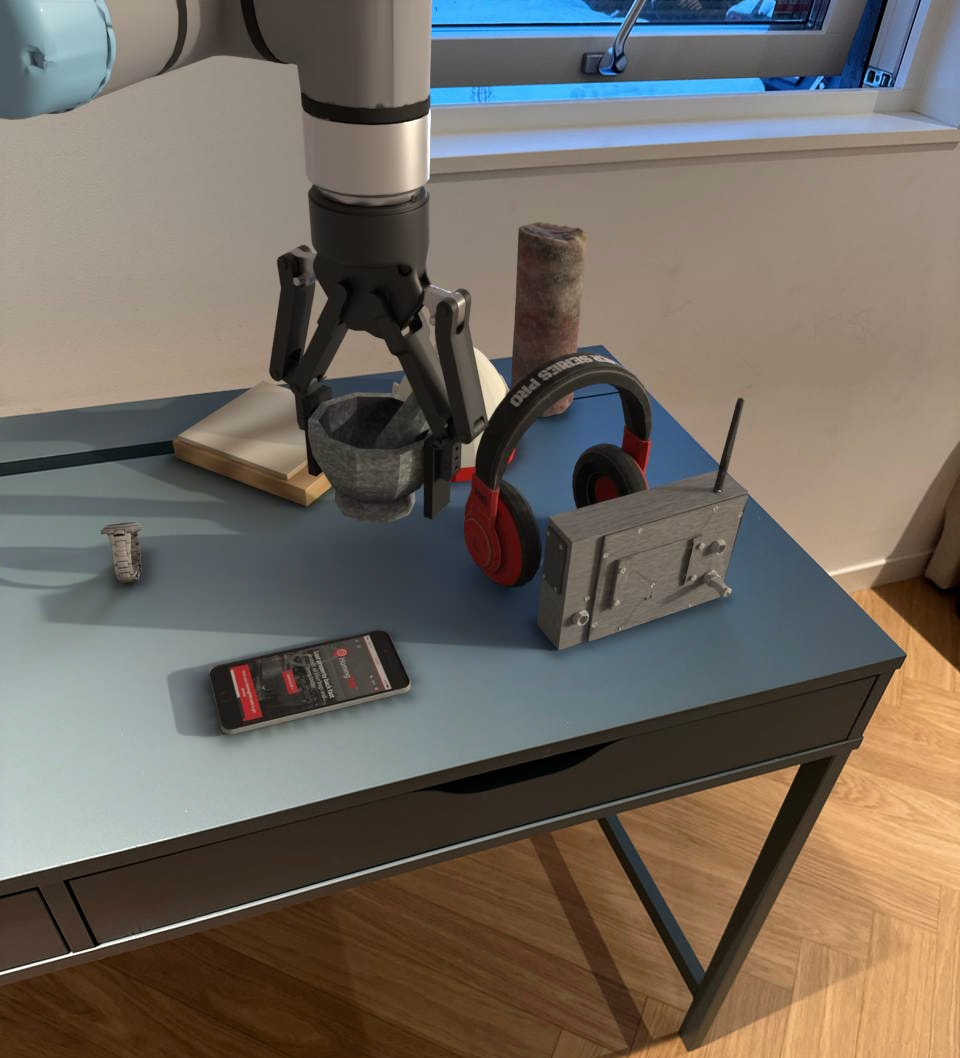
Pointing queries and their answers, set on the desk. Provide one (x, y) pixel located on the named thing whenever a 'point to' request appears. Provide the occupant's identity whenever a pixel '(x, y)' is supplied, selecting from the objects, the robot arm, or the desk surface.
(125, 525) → the wristwatch
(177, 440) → the scale
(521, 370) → the brown stone cylinder
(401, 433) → the mortar and pestle
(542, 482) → the desk surface
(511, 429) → the headphones
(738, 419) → the electronic device
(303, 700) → the smartphone
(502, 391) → the kitchen timer
